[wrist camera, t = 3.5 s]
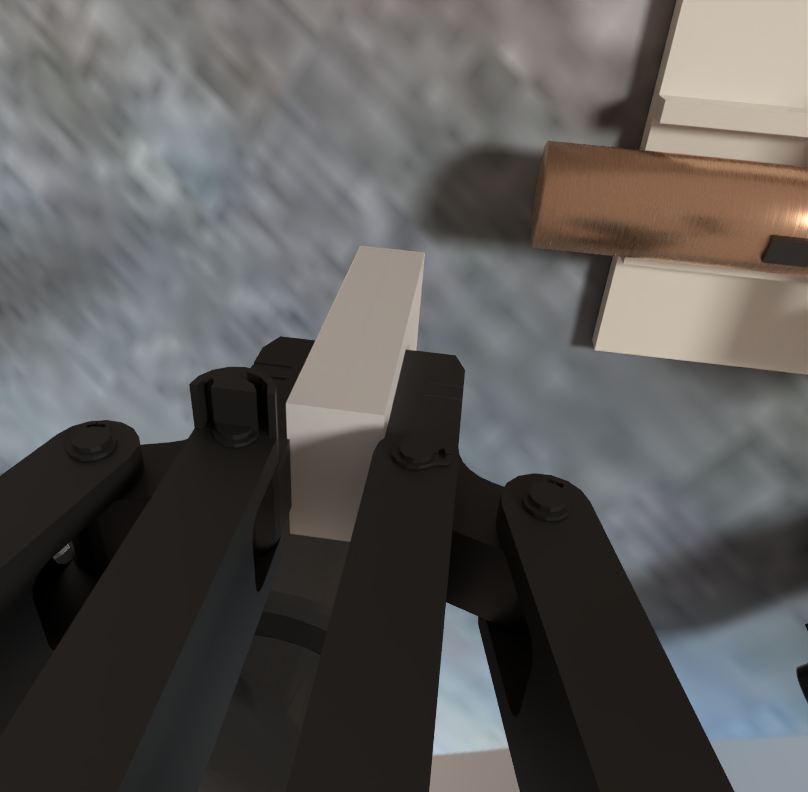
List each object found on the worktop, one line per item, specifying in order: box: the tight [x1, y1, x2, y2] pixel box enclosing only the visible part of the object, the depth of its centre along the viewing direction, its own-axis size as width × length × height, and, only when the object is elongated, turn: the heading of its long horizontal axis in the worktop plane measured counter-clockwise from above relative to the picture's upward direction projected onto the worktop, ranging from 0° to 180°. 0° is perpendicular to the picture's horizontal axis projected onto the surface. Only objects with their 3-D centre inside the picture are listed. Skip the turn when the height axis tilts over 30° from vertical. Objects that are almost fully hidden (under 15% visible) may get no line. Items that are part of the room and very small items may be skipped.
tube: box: [531, 141, 808, 277], centre depth 26 cm, size 18×4×4 cm, turn 86°
